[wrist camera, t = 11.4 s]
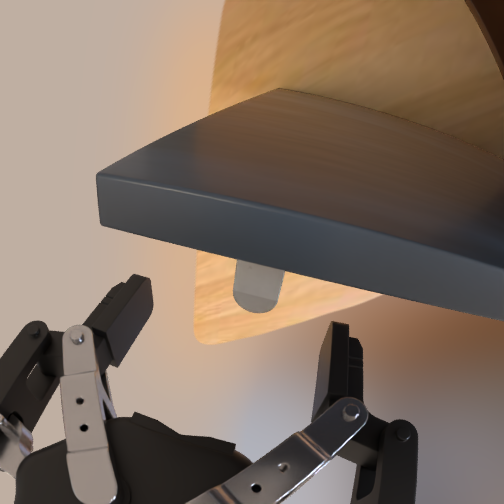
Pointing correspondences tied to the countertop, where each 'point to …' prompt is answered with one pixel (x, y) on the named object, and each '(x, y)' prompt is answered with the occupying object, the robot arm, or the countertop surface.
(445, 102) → the countertop surface
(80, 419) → the robot arm
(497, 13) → the cupboard
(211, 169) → the door
